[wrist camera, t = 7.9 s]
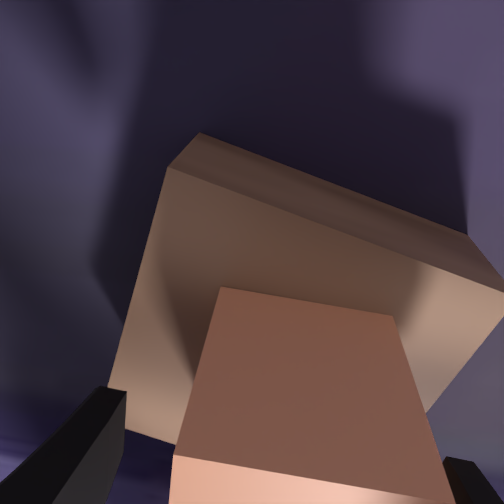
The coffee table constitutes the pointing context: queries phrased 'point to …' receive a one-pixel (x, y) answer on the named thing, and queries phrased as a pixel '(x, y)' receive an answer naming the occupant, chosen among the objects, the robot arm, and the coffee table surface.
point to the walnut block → (290, 273)
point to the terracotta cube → (304, 410)
